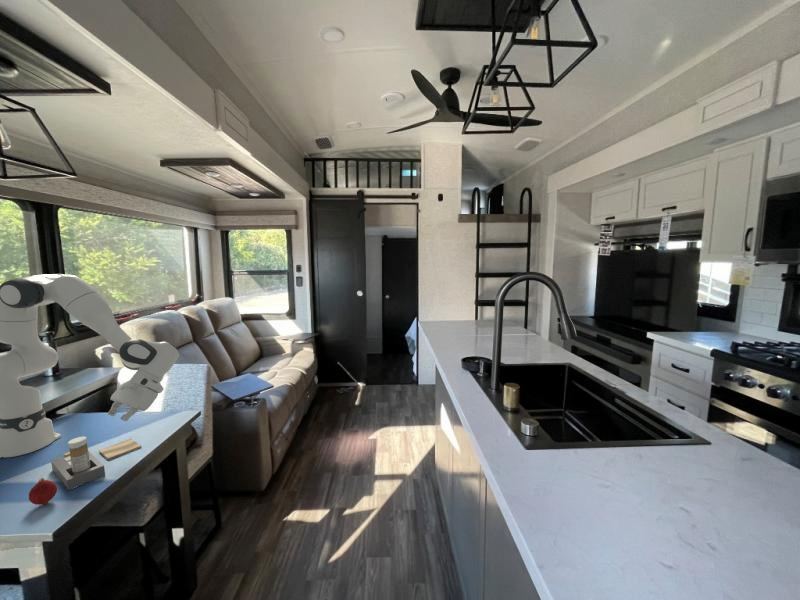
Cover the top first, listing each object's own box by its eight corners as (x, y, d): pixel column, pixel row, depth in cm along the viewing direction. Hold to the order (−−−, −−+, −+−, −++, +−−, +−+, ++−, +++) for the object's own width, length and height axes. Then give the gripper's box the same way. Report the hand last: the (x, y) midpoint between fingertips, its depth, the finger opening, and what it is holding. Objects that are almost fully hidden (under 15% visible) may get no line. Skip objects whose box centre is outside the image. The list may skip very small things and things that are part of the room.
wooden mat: (99, 452, 126) (98, 450, 126) (131, 440, 134) (131, 438, 134) (108, 460, 121) (108, 458, 121) (141, 447, 129) (141, 445, 129)
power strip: (48, 464, 119) (46, 453, 119) (81, 452, 127) (80, 441, 126) (68, 490, 105) (66, 478, 104) (105, 475, 112) (103, 463, 112)
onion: (59, 503, 99) (55, 478, 98) (30, 514, 95) (26, 488, 94) (58, 494, 103) (54, 470, 102) (30, 504, 99) (26, 479, 98)
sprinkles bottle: (79, 474, 113) (73, 437, 111) (95, 472, 114) (90, 435, 112) (69, 483, 109) (63, 444, 107) (86, 480, 110) (80, 442, 108)
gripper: (123, 374, 129) (94, 409, 122) (151, 382, 120) (122, 420, 112) (137, 382, 134) (111, 415, 126) (166, 389, 124) (139, 426, 117)
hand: (116, 417), depth 119 cm, fingers open, 8 cm apart
